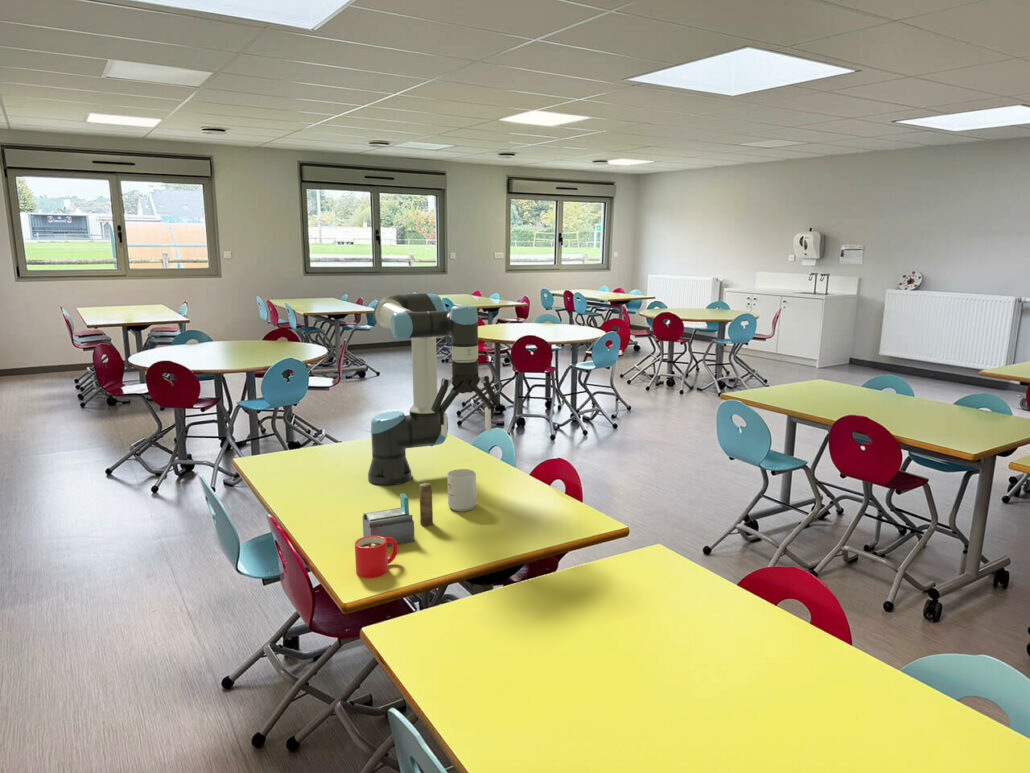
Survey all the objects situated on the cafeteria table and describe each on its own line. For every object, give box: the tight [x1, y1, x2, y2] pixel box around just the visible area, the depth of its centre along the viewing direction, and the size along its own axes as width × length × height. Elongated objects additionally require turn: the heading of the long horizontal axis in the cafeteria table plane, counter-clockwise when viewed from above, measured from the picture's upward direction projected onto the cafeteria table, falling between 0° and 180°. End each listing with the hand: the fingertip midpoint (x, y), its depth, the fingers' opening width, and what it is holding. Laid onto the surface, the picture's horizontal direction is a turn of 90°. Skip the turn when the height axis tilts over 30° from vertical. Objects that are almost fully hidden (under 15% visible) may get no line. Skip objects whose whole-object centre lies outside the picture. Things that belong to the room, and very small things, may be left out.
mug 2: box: [446, 468, 477, 512], centre depth 220 cm, size 12×9×11 cm
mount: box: [361, 507, 415, 548], centre depth 195 cm, size 10×12×7 cm
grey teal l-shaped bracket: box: [366, 493, 410, 522], centre depth 194 cm, size 5×11×6 cm, turn 115°
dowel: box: [418, 482, 434, 527], centre depth 205 cm, size 4×4×12 cm
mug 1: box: [354, 536, 399, 579], centre depth 177 cm, size 8×12×8 cm, turn 138°
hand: (466, 432), depth 203 cm, fingers open, 13 cm apart
